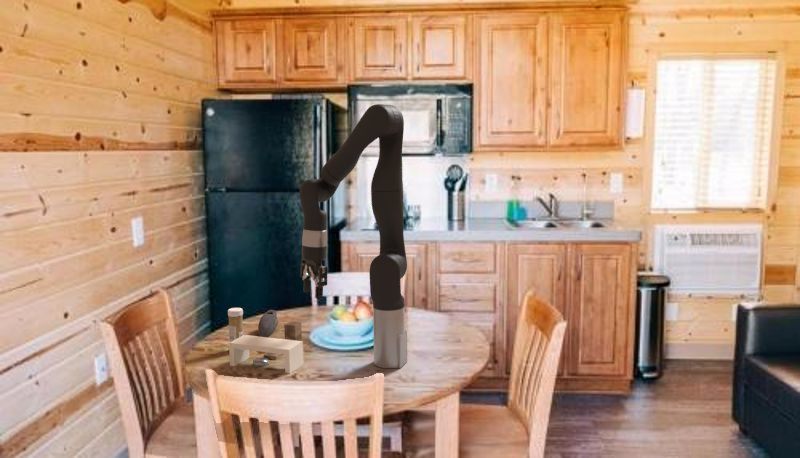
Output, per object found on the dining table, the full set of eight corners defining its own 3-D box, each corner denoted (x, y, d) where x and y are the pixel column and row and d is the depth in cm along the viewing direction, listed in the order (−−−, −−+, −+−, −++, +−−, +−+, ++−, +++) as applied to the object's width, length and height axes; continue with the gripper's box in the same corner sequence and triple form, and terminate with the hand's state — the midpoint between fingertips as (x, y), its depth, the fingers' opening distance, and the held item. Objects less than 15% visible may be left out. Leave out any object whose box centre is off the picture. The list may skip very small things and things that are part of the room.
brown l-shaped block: (302, 343, 206) (301, 322, 205) (276, 359, 190) (275, 337, 189) (290, 341, 207) (289, 321, 206) (263, 358, 192) (262, 335, 191)
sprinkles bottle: (246, 350, 198) (244, 309, 196) (232, 353, 196) (230, 311, 194) (241, 347, 202) (239, 306, 200) (227, 349, 199) (225, 308, 198)
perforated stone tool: (268, 341, 208) (267, 320, 207) (252, 340, 208) (252, 320, 208) (281, 327, 223) (280, 308, 222) (266, 327, 223) (265, 308, 222)
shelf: (303, 364, 186) (302, 341, 185) (290, 373, 178) (289, 349, 178) (245, 356, 193) (244, 334, 192) (230, 365, 185) (228, 342, 184)
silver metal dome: (271, 363, 187) (271, 358, 187) (263, 368, 183) (263, 363, 183) (258, 361, 189) (258, 357, 189) (250, 366, 185) (250, 362, 185)
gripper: (336, 247, 190) (334, 299, 192) (315, 239, 201) (313, 288, 204) (313, 248, 186) (311, 301, 188) (293, 240, 197) (292, 291, 200)
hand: (312, 295), depth 196 cm, fingers open, 8 cm apart
